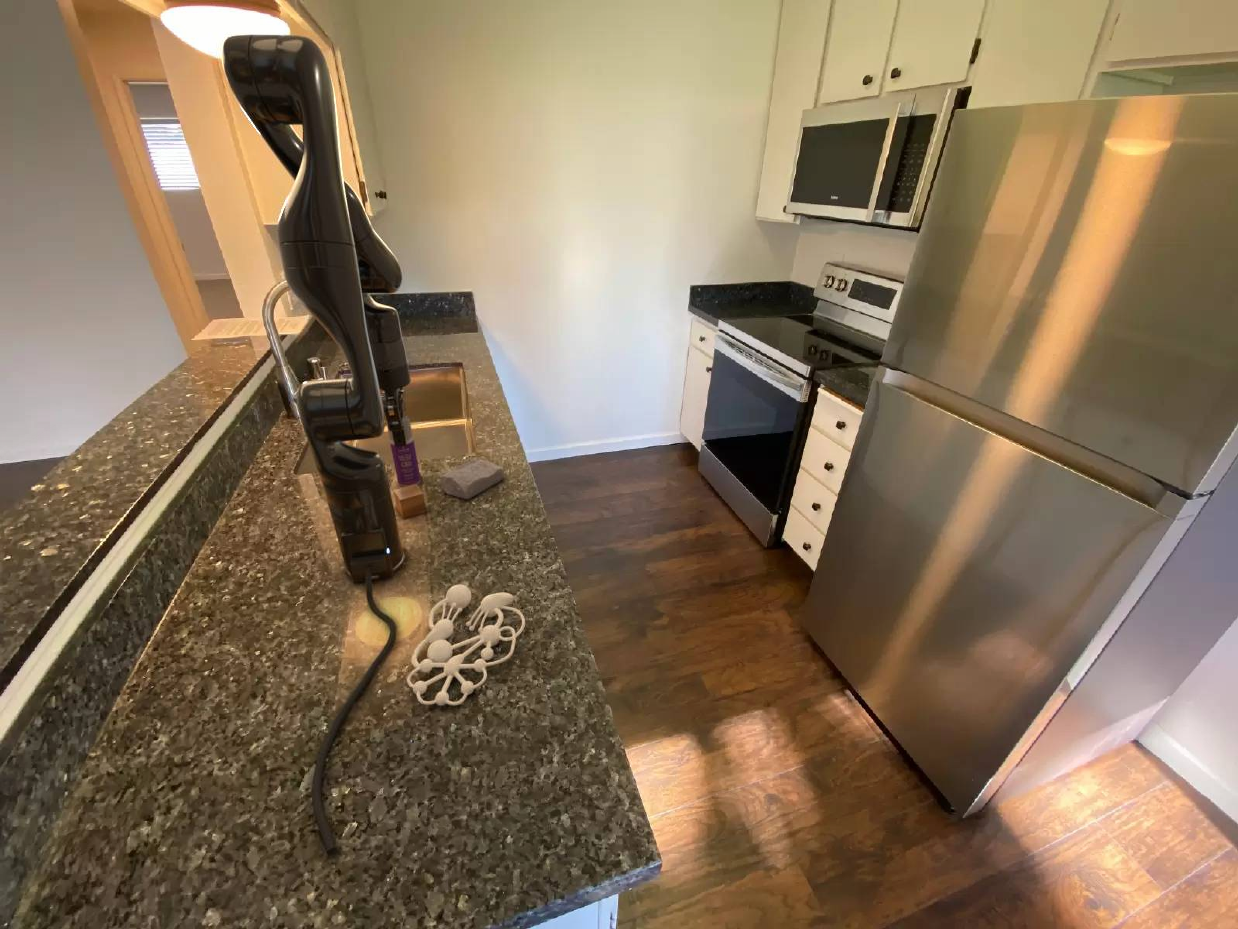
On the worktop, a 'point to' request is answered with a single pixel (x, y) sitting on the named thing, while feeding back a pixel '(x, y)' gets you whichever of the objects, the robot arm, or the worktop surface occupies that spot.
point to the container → (405, 457)
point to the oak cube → (409, 501)
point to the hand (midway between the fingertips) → (401, 439)
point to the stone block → (471, 478)
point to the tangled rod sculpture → (461, 643)
